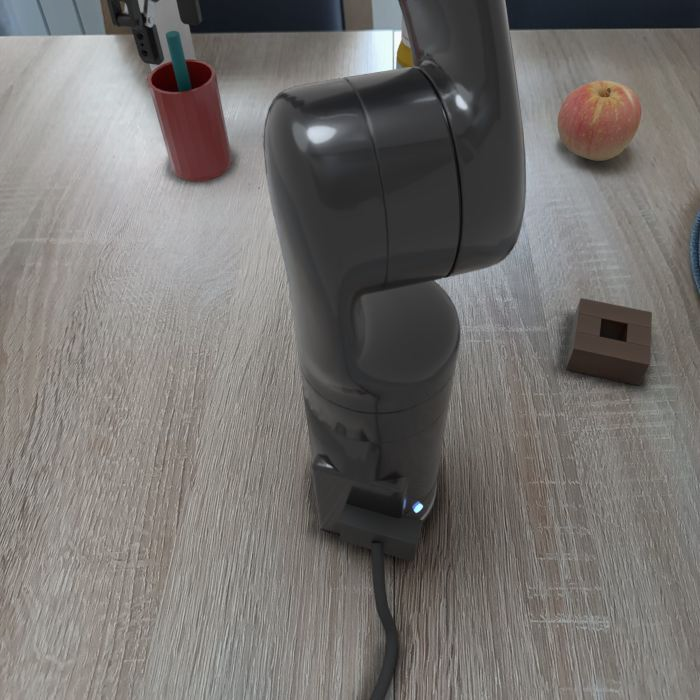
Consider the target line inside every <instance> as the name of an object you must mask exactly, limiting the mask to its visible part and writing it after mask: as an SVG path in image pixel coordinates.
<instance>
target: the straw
mask: <svg viewBox="0 0 700 700" xmlns="http://www.w3.org/2000/svg"><path fill="white" fill-rule="evenodd" d="M166 39H167V44H168V48H169V52H170V56H171V60H172V64H173V68H174V72H175V76H176V81H177V85H178V89H179V92H184V91H189V90H192V87H191V83H190V79H189V74H188V70H187V65H186V61H185V56H184V52H183V48H182V43H181V39H180V34H179V32H178V31H169V32H167V33H166Z"/></svg>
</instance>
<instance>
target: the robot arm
mask: <svg viewBox="0 0 700 700" xmlns="http://www.w3.org/2000/svg"><path fill="white" fill-rule="evenodd" d="M158 1H159V0H144V6H143V12H140V7H139V3H138V0H106V3H107V8H108V10H109V15H110V19H111V22H112V25H113V26H114V27H117V28H126V29H130V30H131V31H132V35H133V38H134V43H135V45H136V49H137V53H138V56H139V57H140V58H139V59H141V61H142V62H143V63H144V64H148V65H150V64H154V65H160V64H161V63H162V62H163V61H164V55H163V51H162V47H161V43H160V39H159V35H158V31H157V27H156V24H154V14H155V4H156V2H158ZM176 1H177V6H178V10H179V15H180V19H181V21H182V23H184V24H188V25H189V26H199V25H200V24H201V23H202V22H203V17H202V13H201V6H200V1H199V0H176ZM397 1H398V5H399V8H400V11H401V16H402V15H403V18H404V22H405V26H406V30H407V34H408V38H409V43H410V48H411V52H412V59H413V66H414V67H406V68H400V69H396V68H394V69H389V70H382V71H377V72H371V73H370V72H369V73H363V74H357V75H350V76H345V77H342V78H341V77H339V78H332V79H328V80H327V79H325V80H320V81H315V82H309V83H304V84H300V85H295V86H291V87H289V88H286V89H283V90H282V91H280V92H279V93H278V94H277V95H275V97H274V98H273V99H272V102H271V103H270V104H269V107H268V110H267V114H266V117H265V121H264V127H263V128H264V129H263V143H262V144H263V157H264V158H263V159H264V170H265V177H266V181H267V182H266V183H267V188H268V189H267V190H268V193H269V200H270V205H271V206H270V207H271V209H272V210H271V211H272V214H273V218H274V223H275V228H276V232H277V237H278V241H279V247H280V251H281V255H282V259H283V264H284V268H285V273H286V278H287V284H288V289H289V297H290V303H291V310H292V311H291V312H292V318H293V327H294V333H295V341H296V343H295V344H296V350H297V351H296V352H297V358H298V365H299V373H300V379H301V388H302V396H303V403H304V409H305V417H306V418H305V419H306V425H307V432H308V439H309V445H310V446H309V448H310V453H311V460H312V461H311V462H312V463H311V475H312V482H313V488H314V489H313V490H314V497H315V504H316V509H317V517H318V524H319V525H318V526H319V528H320V529H322V530H324V531H327V532H331V533H334V534H338V535H339V536H340V541H342V542H344V543H348V544H351V545H355V546H358V547H362V548H365V549H368V550H370V551H371V552H370V553H371V572H372V585H373V588H372V589H373V595H374V602H375V608H376V612H377V615H378V619H379V621H380V622H381V625H382V627H383V631H384V635H385V647H384V649H385V650H384V655H383V660H382V661H383V663H382V666H381V670H380V673H379V675H378V678H377V681H376V683H375V686H374V688H373V691H372V694H371V696H370V697H369V700H385V697H386V695H387V693H388V691H389V688H390V685H391V681H392V679H393V676H394V672H395V668H396V663H397V659H398V657H397V656H398V648H399V647H398V646H399V635H398V629H397V625H396V623H395V620H394V617H393V615H392V613H391V610H390V607H389V601H388V595H387V588H386V587H387V586H386V573H385V572H386V571H385V555H389V556H391V557H395V558H399V559H401V560H405V561H407V562H412V563H414V562H415V559H416V555H417V552H418V548H419V544H420V540H421V533H422V529H423V528H422V527H423V523H425V522H426V520H427V519H428V517H429V516H430V514H431V512H432V510H433V507H434V505H435V501H436V496H437V489H438V487H437V486H438V475H439V469H440V463H441V462H440V461H441V457H442V449H443V443H444V437H445V431H446V425H447V419H448V413H449V408H450V401H451V396H452V391H453V385H454V378H455V372H456V366H457V361H458V357H459V350H460V345H461V321H460V317H459V314H458V310H457V308H456V306H455V303H454V301H453V300H452V297H450V295H449V293H447V292H446V290H445V289H444V288H443V287H442V286H441V285H440V284H439V283H438V282H437V281H438V280H442V279H447V278H450V277H455V276H460V275H464V274H468V273H472V272H476V271H481V270H485V269H488V268H491V267H493V266H497V265H498V264H500V263H501V262H503V261H504V260H505V259H506V258H507V257H509V255H510V254H511V253H512V251H513V249H514V248H515V246H516V244H517V242H518V240H519V238H520V234H521V230H522V225H523V220H524V215H525V210H526V200H527V199H526V196H527V165H526V163H527V162H526V160H527V159H526V146H525V134H524V123H523V117H522V108H521V101H520V94H519V86H518V85H519V84H518V78H517V71H516V65H515V58H514V52H513V44H512V37H511V31H510V30H511V29H510V24H509V17H508V11H507V4H506V0H397ZM121 2H123V3H124V9H122V6H121ZM123 10H124V11H123ZM384 554H385V555H384Z"/></svg>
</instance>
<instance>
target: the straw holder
mask: <svg viewBox="0 0 700 700" xmlns="http://www.w3.org/2000/svg"><path fill="white" fill-rule="evenodd" d="M652 322H653V312H652V311H648V310H643V309H638V308H633V307H628V306H623V305H618V304H613V303H608V302H603V301H598V300H594V299H588V298H583V297H581V298H580V299H579V302H578V304H577V307H576V310H575V313H574V315H573V318H572V322H571V331H570V336H569V337H570V338H569V343H568V352H567V358H566V365H565V370H566V371H571V372H576V373H579V374H585V375H589V376H594V377H597V378H601V379H608V380H611V381H616V382H621V383H625V384H630V385H632V386H633V385H634V386H640V384H641V382H642V380H643V378H644V377H645V375H646V373H647V371H648V369H649V368H650V365H651V350H652V349H651V347H652V326H653V325H652Z"/></svg>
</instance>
